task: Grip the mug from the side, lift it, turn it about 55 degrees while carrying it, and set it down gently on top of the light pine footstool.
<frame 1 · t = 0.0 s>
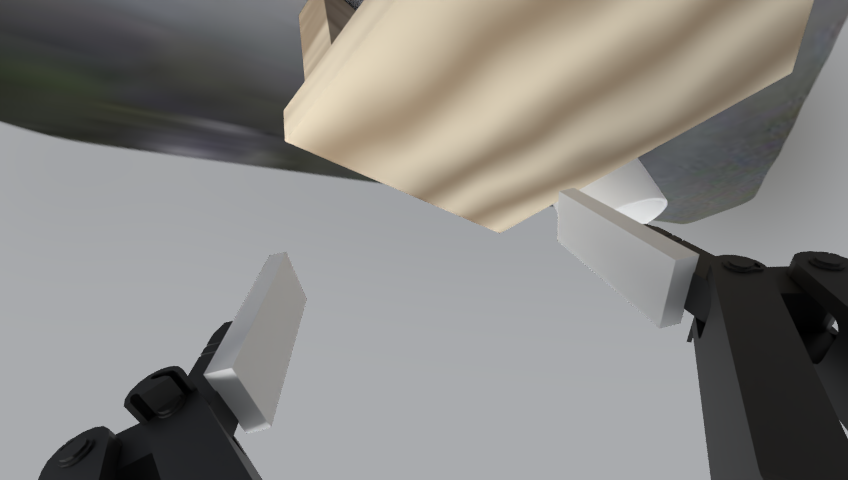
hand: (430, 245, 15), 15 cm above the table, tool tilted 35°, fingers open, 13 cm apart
mug: (566, 134, 35), on the table
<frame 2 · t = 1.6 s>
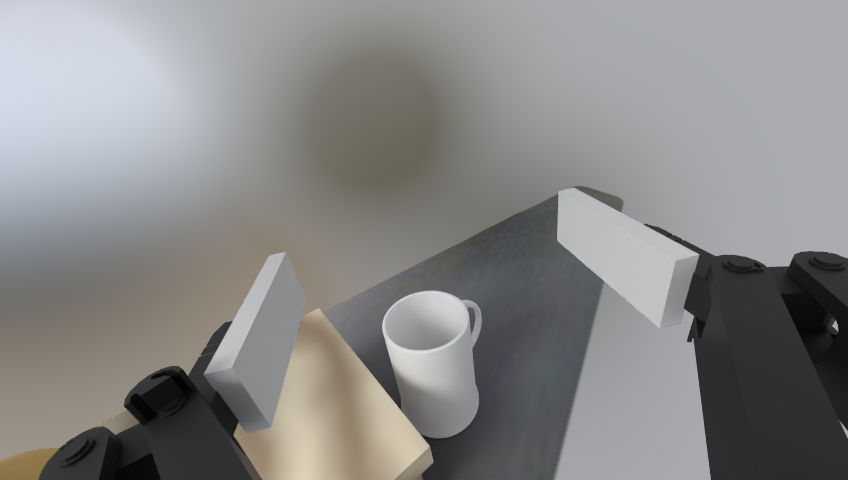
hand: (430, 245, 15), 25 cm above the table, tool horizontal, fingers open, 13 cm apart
mug: (451, 391, 36), on the table
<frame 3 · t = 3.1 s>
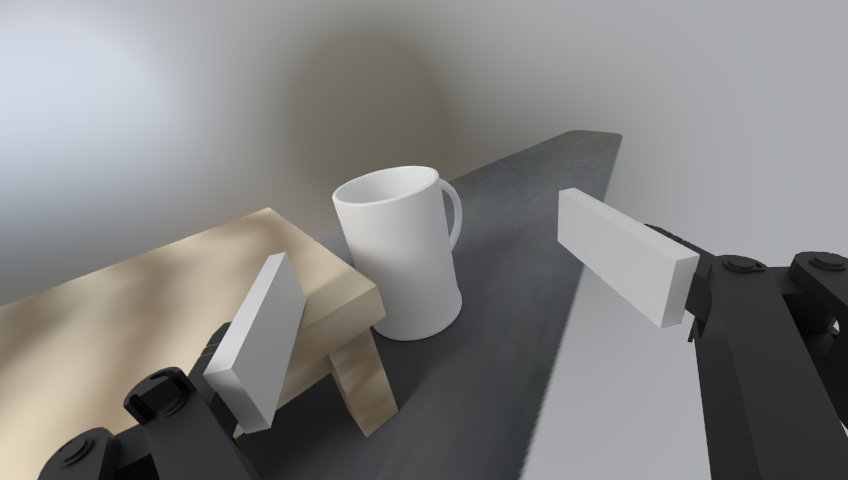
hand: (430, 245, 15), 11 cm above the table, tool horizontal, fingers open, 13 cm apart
footstool: (222, 414, 23), on the table
mug: (429, 299, 30), on the table
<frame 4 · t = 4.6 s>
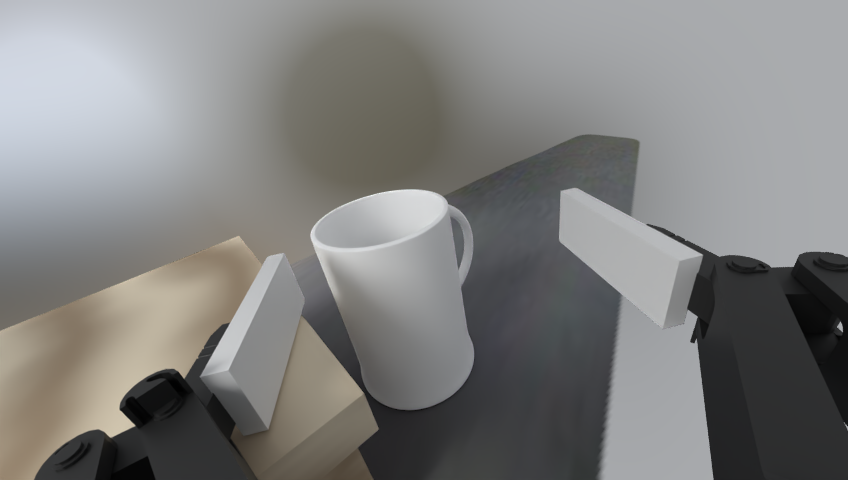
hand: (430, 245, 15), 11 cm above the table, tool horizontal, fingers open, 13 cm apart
mug: (434, 347, 25), on the table
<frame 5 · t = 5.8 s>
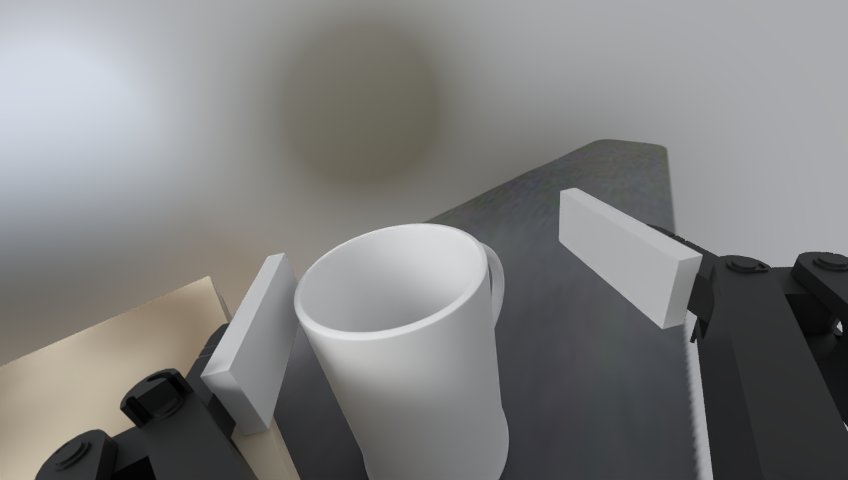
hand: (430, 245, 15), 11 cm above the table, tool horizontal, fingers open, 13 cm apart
mug: (455, 416, 20), on the table
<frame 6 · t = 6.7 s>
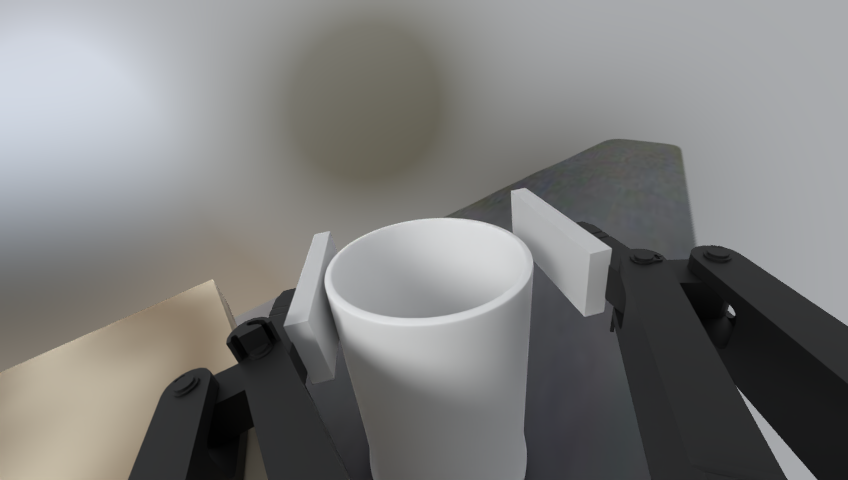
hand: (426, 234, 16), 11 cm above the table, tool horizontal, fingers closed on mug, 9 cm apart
mug: (467, 426, 19), on the table, touching gripper
when the fingers open (22 cm above the table, at t = 12.2 s): mug drops 1 cm, resting on footstool.
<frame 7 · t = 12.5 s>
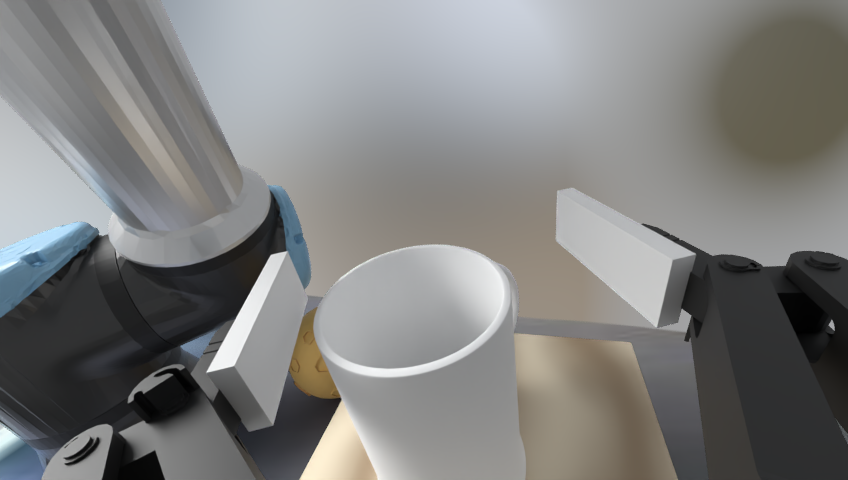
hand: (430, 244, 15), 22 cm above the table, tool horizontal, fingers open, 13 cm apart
stress ball: (348, 380, 37), on the table
mug: (469, 436, 20), point 10 cm above the table, touching footstool
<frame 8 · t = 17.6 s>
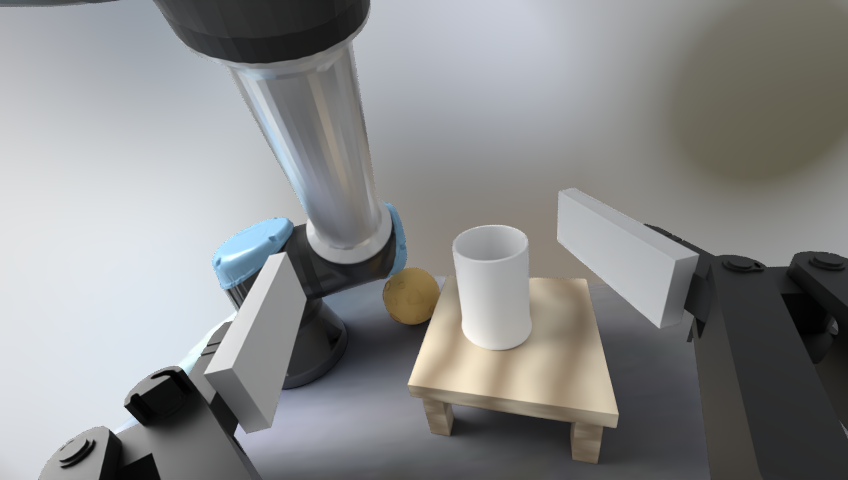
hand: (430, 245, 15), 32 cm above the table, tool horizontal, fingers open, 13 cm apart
stress ball: (416, 318, 59), on the table
footstool: (511, 378, 44), on the table
mug: (504, 318, 41), point 10 cm above the table, touching footstool
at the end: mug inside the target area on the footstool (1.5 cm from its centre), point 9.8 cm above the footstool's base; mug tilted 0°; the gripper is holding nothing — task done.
